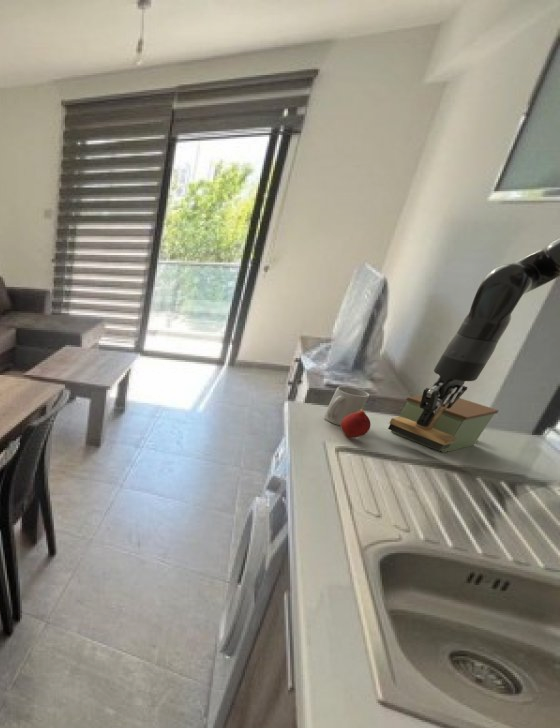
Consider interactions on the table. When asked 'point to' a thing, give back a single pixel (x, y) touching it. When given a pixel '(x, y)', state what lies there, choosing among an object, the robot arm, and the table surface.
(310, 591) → the table surface
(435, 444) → the brush
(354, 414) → the onion
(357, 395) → the cup
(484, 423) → the cabinet
